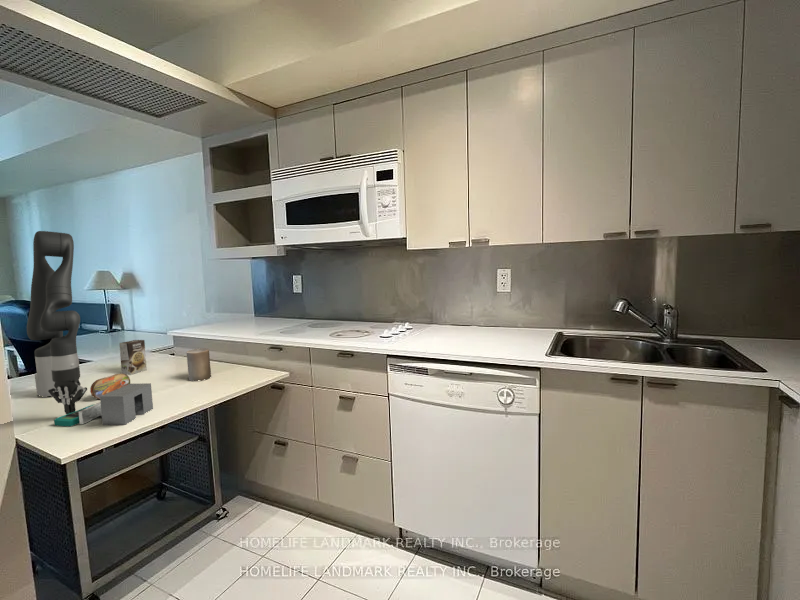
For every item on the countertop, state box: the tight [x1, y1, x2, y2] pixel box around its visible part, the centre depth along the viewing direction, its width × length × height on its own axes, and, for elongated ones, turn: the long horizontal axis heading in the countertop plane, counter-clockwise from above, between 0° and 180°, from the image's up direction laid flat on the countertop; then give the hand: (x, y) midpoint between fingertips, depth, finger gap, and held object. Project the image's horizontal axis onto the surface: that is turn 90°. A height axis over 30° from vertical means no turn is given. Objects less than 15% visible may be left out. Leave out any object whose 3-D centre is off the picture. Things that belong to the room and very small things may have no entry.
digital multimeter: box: [53, 404, 95, 427], centre depth 138 cm, size 7×15×3 cm, turn 170°
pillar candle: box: [185, 347, 212, 382], centre depth 183 cm, size 10×10×15 cm
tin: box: [89, 373, 131, 400], centre depth 161 cm, size 15×3×8 cm, turn 162°
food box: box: [119, 339, 148, 375], centre depth 196 cm, size 9×6×16 cm
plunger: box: [79, 401, 102, 425], centre depth 141 cm, size 13×21×4 cm, turn 178°
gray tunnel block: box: [99, 382, 154, 426], centre depth 137 cm, size 8×14×10 cm, turn 178°
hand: (70, 413), depth 138 cm, fingers closed
